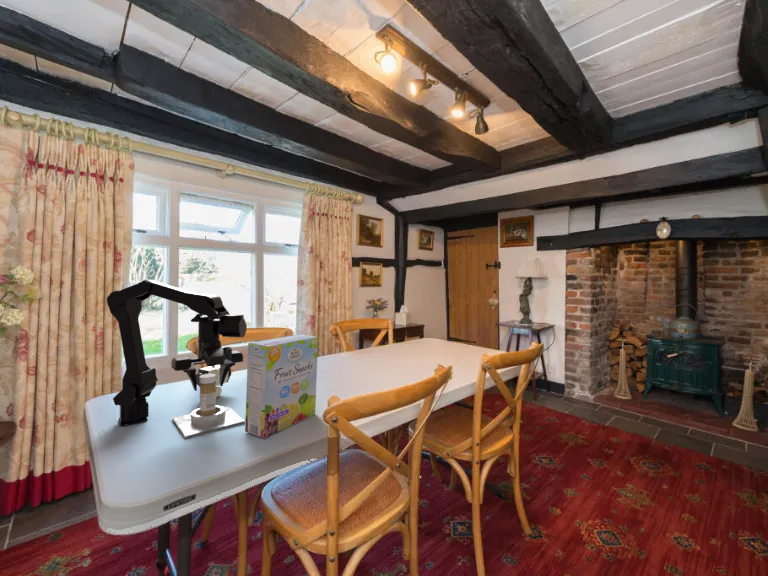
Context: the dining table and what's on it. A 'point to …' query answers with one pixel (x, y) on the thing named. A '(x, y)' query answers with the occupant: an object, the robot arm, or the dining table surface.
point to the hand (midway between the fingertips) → (208, 388)
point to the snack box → (280, 383)
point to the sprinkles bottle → (207, 394)
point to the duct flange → (207, 421)
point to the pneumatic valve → (215, 371)
